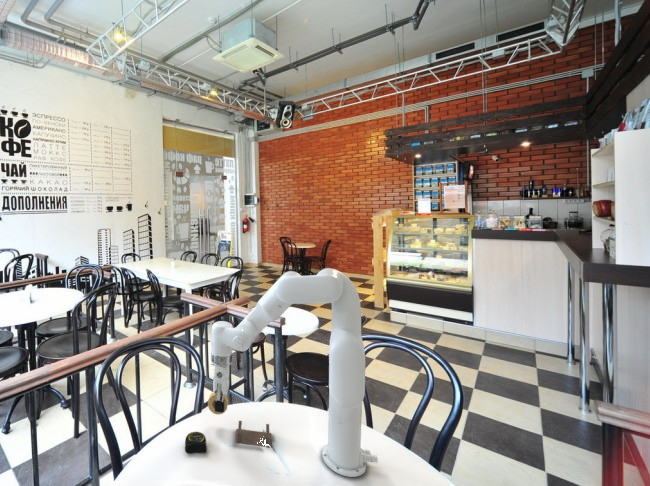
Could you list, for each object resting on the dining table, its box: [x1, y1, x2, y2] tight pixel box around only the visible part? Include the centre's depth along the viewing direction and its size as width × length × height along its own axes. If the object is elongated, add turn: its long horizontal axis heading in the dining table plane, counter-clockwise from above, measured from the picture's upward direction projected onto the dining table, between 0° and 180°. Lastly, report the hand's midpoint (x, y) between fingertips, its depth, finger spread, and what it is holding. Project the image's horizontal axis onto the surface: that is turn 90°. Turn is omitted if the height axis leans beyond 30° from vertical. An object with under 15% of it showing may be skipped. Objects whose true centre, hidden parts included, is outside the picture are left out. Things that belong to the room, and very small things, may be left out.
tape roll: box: [207, 392, 229, 415], centre depth 117 cm, size 7×3×7 cm, turn 81°
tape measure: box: [184, 431, 207, 454], centre depth 106 cm, size 7×7×4 cm
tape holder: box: [234, 420, 273, 448], centre depth 110 cm, size 12×7×4 cm, turn 81°
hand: (219, 408), depth 117 cm, fingers closed on tape roll, 2 cm apart
